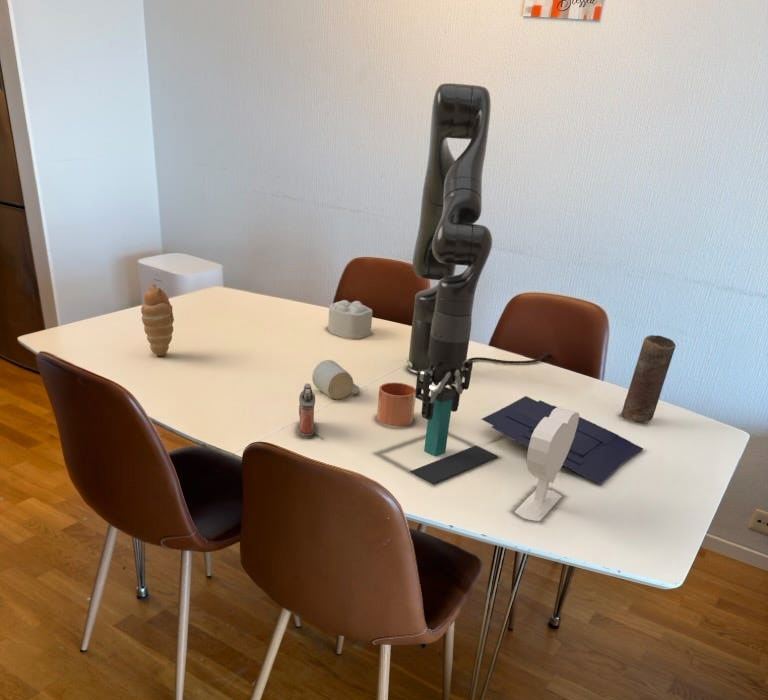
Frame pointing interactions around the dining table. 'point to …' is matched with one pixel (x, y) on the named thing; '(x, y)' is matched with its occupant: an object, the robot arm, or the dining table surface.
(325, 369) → the ceramic mug
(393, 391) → the pen cup
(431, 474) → the mat
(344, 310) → the lumpy-topped squat cylinder
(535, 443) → the heart sculpture
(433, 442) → the block
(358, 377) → the dining table surface
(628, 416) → the brown hollow cylinder
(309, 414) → the lighter
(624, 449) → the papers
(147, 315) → the ridged brown croissant
